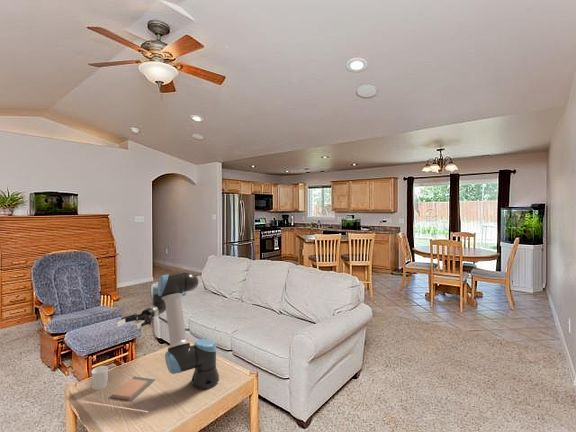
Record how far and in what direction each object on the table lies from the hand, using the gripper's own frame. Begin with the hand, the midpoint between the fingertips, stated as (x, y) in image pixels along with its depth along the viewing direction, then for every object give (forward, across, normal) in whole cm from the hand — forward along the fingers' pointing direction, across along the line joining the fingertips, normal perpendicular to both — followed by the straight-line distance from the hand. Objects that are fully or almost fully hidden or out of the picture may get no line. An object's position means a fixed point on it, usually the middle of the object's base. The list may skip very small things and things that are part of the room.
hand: (126, 326), depth 180 cm
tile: (+9, -15, -26) cm, 32 cm away
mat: (+14, -15, -28) cm, 35 cm away
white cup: (+16, +4, -28) cm, 33 cm away
